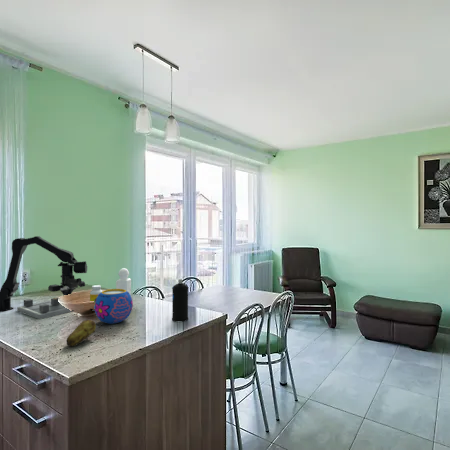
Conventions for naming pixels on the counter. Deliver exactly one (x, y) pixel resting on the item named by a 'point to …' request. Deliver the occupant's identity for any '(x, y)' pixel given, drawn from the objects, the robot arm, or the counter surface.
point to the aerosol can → (180, 301)
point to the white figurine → (124, 280)
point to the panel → (44, 315)
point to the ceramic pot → (113, 305)
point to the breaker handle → (54, 301)
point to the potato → (81, 332)
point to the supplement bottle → (95, 292)
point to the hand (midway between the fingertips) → (67, 300)
